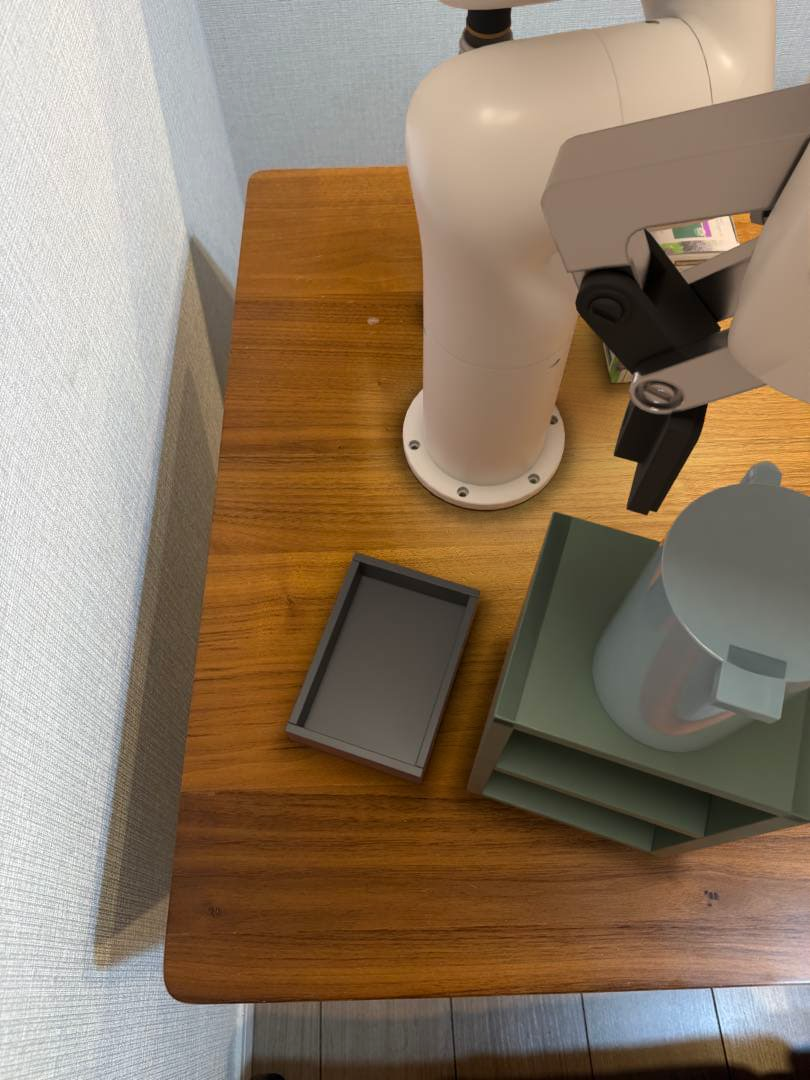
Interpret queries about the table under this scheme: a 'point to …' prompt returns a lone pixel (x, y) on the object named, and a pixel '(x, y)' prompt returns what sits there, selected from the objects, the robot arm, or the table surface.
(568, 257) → the robot arm
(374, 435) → the table surface
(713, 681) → the jug
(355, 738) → the tray
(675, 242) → the syrup box
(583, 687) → the shelf
